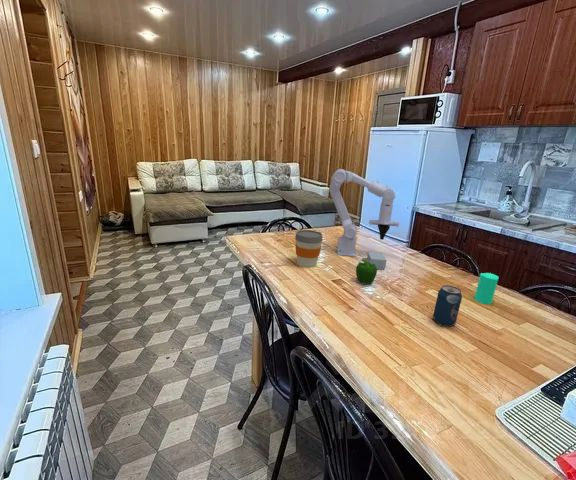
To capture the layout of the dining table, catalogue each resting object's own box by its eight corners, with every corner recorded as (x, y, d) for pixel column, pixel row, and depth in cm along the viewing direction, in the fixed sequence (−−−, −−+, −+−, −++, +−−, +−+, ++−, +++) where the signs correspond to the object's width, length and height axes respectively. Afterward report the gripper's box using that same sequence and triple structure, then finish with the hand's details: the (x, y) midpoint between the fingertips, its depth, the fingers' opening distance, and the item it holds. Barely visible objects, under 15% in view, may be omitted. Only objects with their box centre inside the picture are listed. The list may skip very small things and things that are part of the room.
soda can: (454, 330, 100) (462, 296, 96) (430, 322, 103) (438, 289, 99) (456, 320, 105) (464, 288, 102) (434, 313, 109) (440, 282, 105)
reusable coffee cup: (289, 265, 144) (291, 234, 139) (298, 257, 155) (300, 228, 150) (315, 271, 139) (318, 239, 135) (323, 262, 151) (326, 232, 146)
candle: (489, 298, 123) (497, 270, 119) (493, 305, 117) (502, 276, 114) (472, 295, 124) (479, 267, 121) (475, 302, 119) (483, 273, 115)
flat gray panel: (366, 268, 145) (366, 268, 145) (362, 258, 159) (362, 257, 159) (384, 270, 145) (384, 269, 145) (378, 259, 158) (378, 259, 158)
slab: (385, 268, 147) (370, 266, 147) (381, 260, 156) (366, 259, 157) (386, 260, 145) (371, 258, 146) (382, 253, 155) (367, 251, 155)
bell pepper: (378, 282, 132) (382, 260, 129) (369, 288, 126) (372, 265, 123) (361, 276, 137) (364, 254, 134) (351, 281, 131) (354, 259, 128)
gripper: (372, 213, 152) (368, 240, 156) (402, 215, 151) (398, 242, 155) (369, 210, 158) (366, 236, 162) (398, 212, 157) (394, 238, 161)
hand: (381, 239), depth 159 cm, fingers closed
